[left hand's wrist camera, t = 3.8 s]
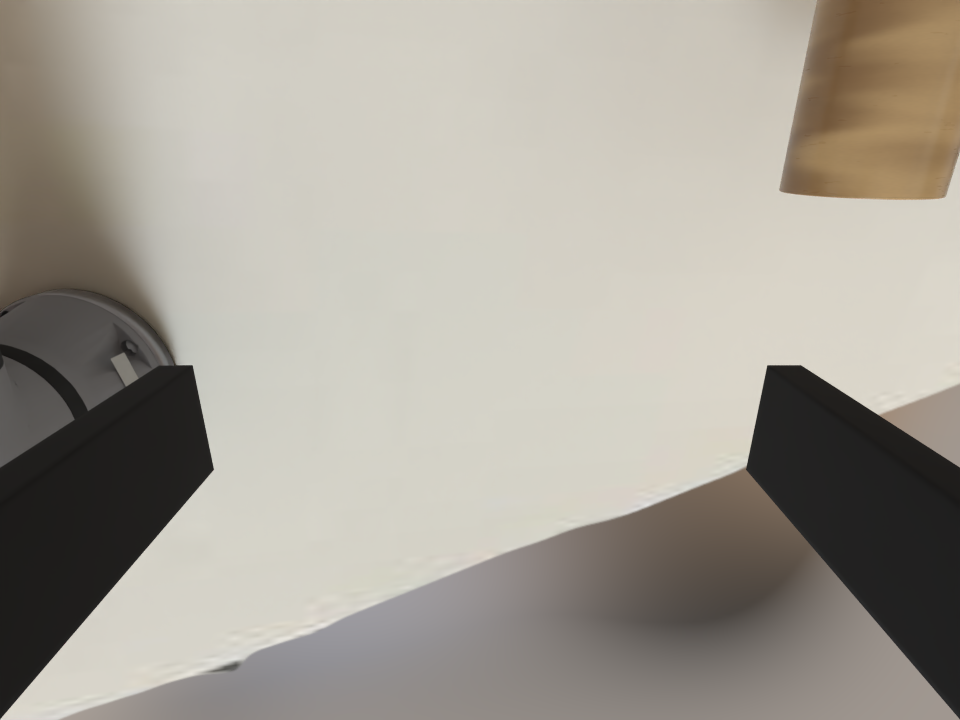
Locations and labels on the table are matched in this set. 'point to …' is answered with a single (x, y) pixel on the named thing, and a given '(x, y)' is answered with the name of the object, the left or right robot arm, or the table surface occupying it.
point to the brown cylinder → (877, 101)
